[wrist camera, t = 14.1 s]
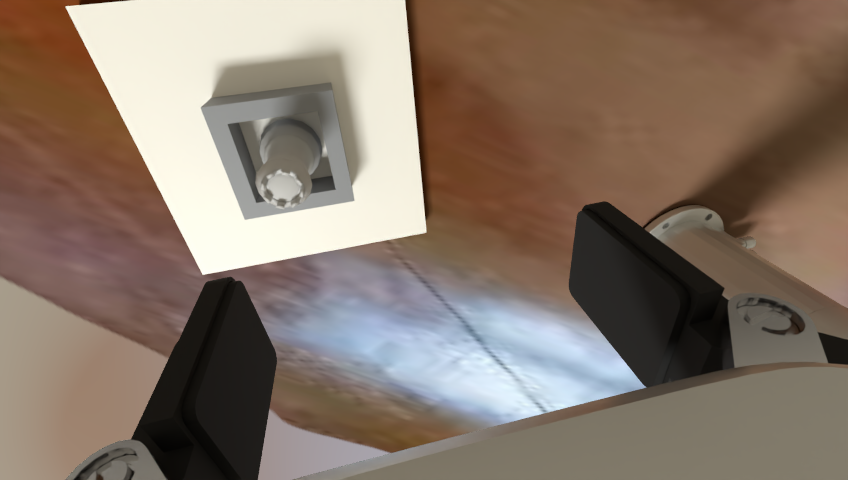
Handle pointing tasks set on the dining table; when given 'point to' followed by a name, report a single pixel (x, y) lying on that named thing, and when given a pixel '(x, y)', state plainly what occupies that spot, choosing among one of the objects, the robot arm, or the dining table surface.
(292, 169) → the rook chess piece
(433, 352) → the dining table surface
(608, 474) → the robot arm
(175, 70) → the socket board
